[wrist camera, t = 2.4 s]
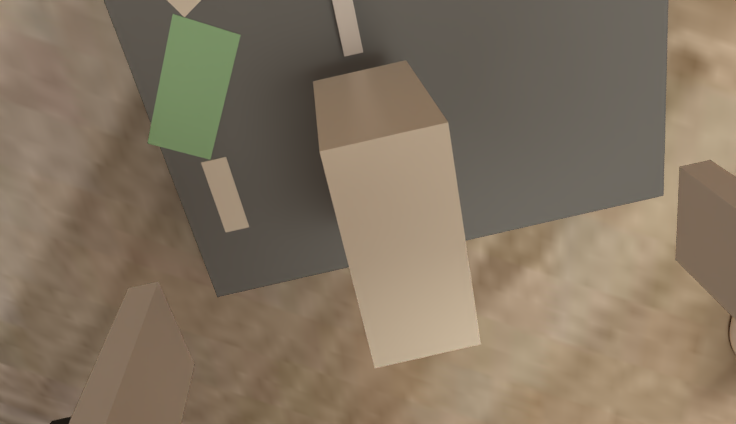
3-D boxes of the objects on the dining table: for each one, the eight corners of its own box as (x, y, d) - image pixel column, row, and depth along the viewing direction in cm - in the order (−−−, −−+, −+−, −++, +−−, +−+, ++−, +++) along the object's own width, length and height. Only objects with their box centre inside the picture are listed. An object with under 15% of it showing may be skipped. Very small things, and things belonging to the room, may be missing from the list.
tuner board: (213, 274, 29) (208, 299, 27) (83, -73, 22) (63, -70, 20) (641, 177, 29) (664, 195, 27) (643, -200, 22) (674, -208, 20)
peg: (350, 225, 26) (374, 368, 18) (271, -99, 21) (255, -97, 13) (424, 208, 26) (480, 344, 18) (366, -121, 21) (411, -133, 13)
